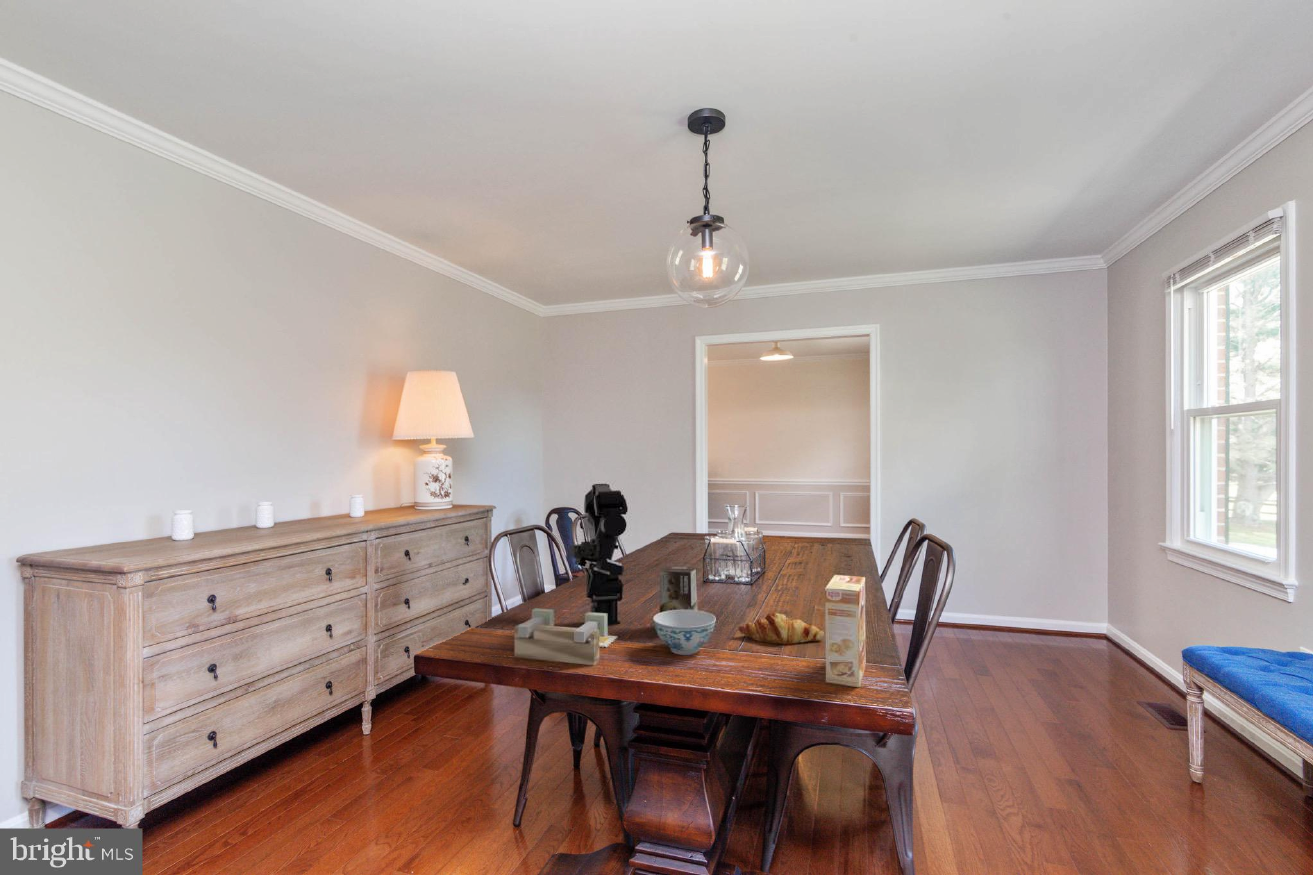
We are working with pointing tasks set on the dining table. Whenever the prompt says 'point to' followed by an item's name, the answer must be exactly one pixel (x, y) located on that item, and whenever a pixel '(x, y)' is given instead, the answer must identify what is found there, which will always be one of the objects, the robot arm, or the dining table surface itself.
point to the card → (606, 640)
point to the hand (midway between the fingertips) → (588, 597)
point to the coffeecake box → (845, 630)
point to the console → (557, 645)
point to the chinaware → (684, 629)
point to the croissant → (781, 630)
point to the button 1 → (536, 621)
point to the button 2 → (591, 626)
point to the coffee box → (678, 588)
